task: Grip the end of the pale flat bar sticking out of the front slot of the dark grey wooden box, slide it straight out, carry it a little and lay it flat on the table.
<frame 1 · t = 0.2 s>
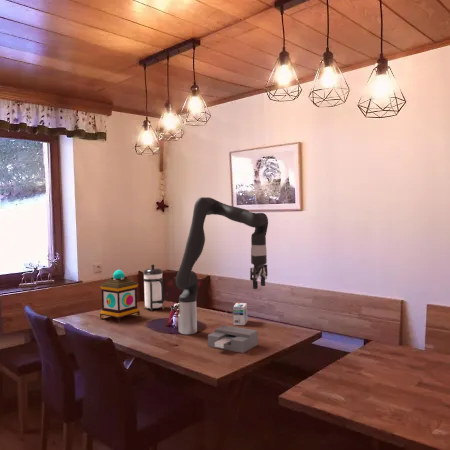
hand: (259, 287, 214), 29 cm above the table, tool pointing down, fingers open, 8 cm apart
light bulb box: (240, 323, 257), on the table
coffee press: (155, 309, 295), on the table
decorative lantern: (120, 318, 274), on the table
pale flat bar: (227, 343, 211), point 2 cm above the table, touching slot box
slot box: (232, 345, 216), on the table
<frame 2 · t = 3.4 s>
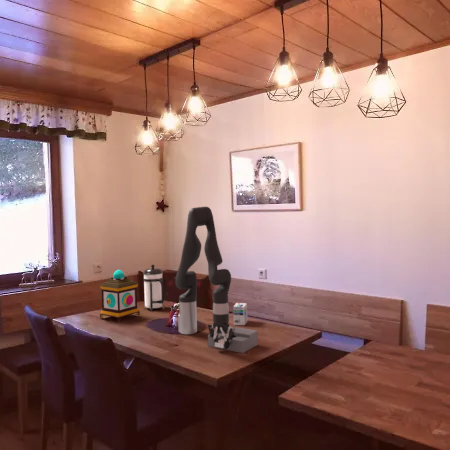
hand: (221, 347, 207), 2 cm above the table, tool pointing down, fingers closed on pale flat bar, 5 cm apart
pale flat bar: (227, 343, 211), point 3 cm above the table, touching gripper, slot box
everything else where it was.
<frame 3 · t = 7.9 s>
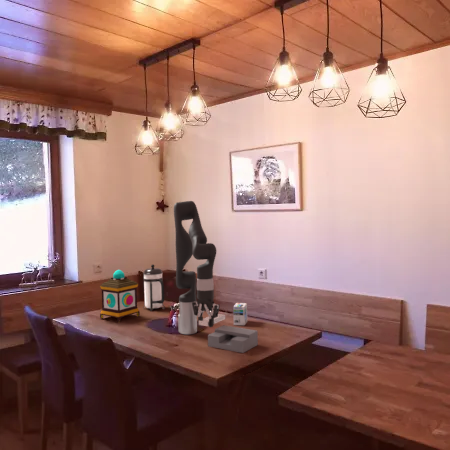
hand: (206, 325, 197), 15 cm above the table, tool pointing down, fingers closed on pale flat bar, 5 cm apart
pale flat bar: (212, 321, 201), point 16 cm above the table, touching gripper
everything else where it was.
when the fingers open (2 cm above the table, at t = 12.3 s): pale flat bar drops 3 cm, on the table.
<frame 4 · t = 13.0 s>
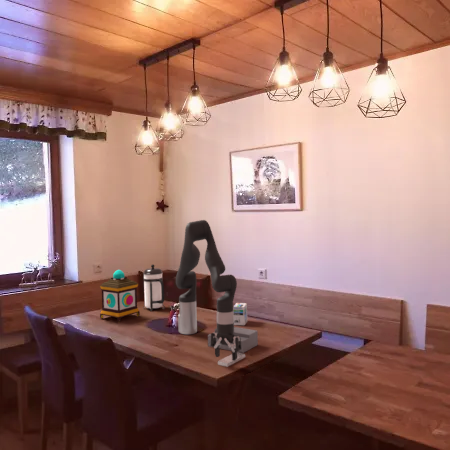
hand: (226, 358, 190), 3 cm above the table, tool pointing down, fingers open, 8 cm apart
pale flat bar: (231, 361, 195), on the table
everything else where it was.
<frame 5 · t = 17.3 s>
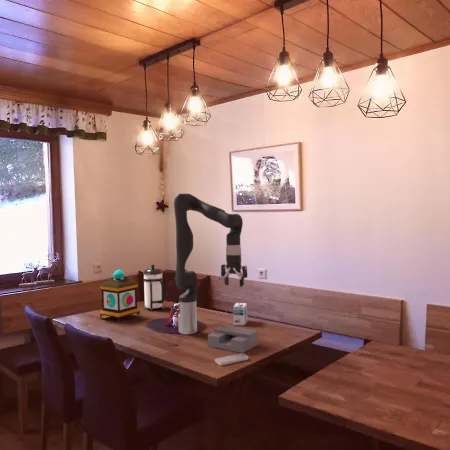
hand: (234, 285, 222), 28 cm above the table, tool pointing down, fingers open, 8 cm apart
at the end: pale flat bar inside the target area (3.2 cm from its centre), on the table; pale flat bar tilted 0°; the gripper is holding nothing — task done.
